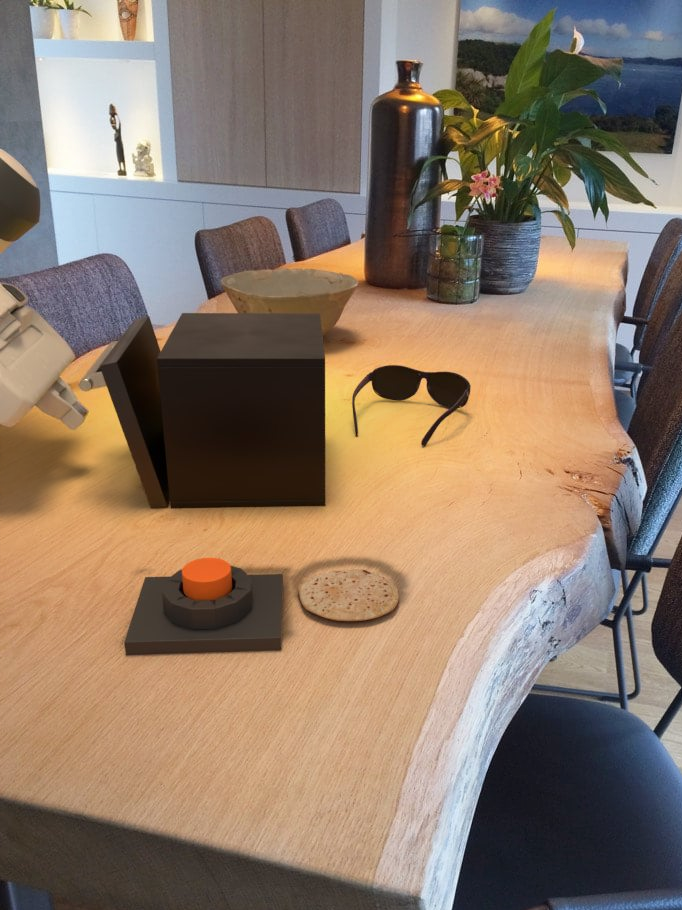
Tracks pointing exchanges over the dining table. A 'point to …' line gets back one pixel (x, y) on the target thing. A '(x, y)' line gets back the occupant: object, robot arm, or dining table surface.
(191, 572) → the button
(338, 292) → the ceramic bowl
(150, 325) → the oven door
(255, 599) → the block
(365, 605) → the flatbread
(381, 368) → the sunglasses
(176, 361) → the mini oven
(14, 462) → the dining table surface
